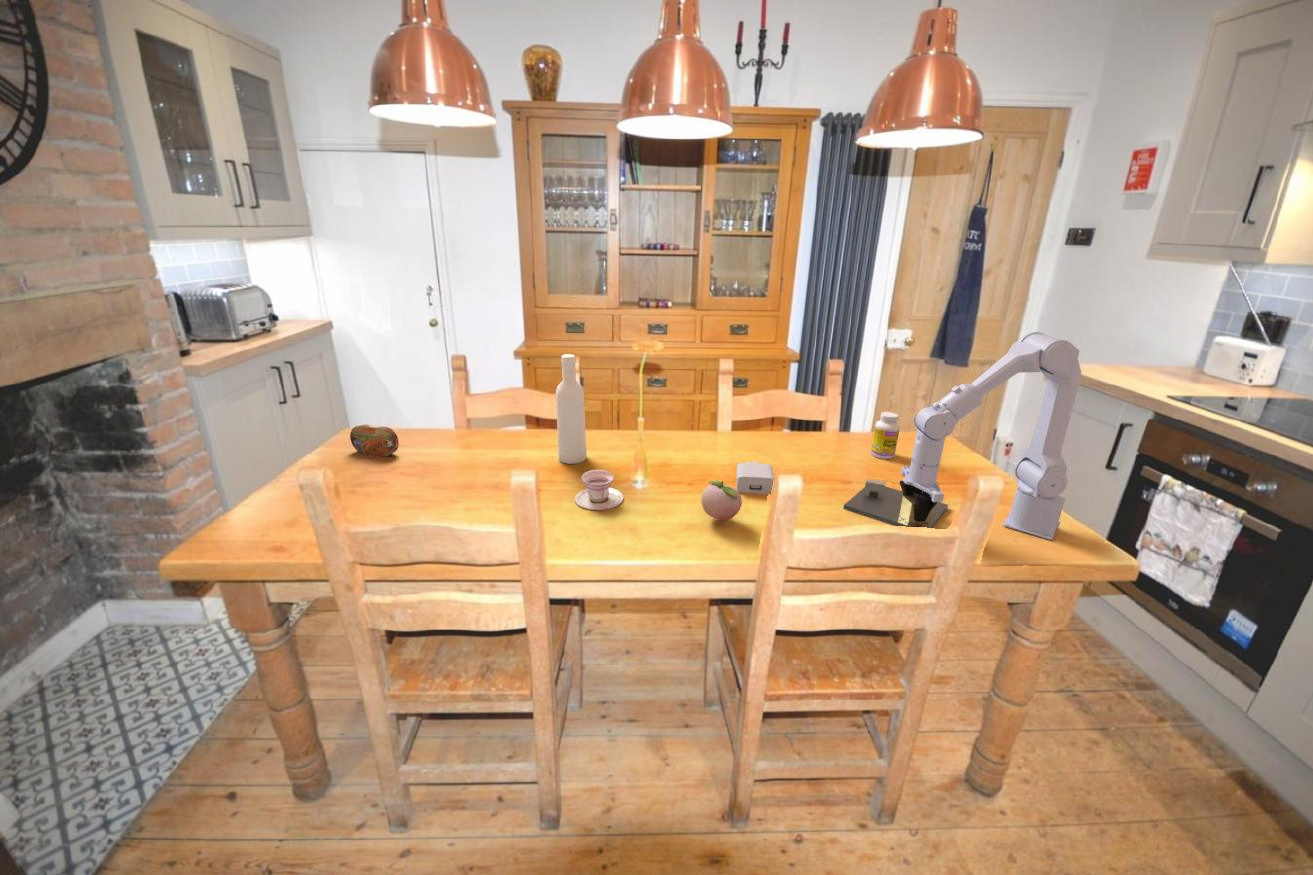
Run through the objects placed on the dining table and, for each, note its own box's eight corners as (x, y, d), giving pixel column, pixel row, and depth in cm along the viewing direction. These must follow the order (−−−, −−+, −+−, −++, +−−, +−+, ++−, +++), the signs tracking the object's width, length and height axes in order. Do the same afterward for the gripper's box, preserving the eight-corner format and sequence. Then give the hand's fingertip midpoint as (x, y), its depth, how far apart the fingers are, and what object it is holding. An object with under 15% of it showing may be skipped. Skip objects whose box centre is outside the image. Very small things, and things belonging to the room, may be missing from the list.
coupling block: (920, 514, 132) (924, 495, 130) (929, 522, 128) (933, 503, 127) (899, 514, 132) (903, 495, 130) (908, 523, 128) (911, 503, 126)
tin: (351, 452, 165) (346, 424, 162) (360, 448, 168) (355, 421, 165) (395, 458, 161) (390, 430, 158) (402, 454, 164) (398, 427, 161)
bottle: (581, 465, 158) (578, 359, 148) (554, 463, 160) (549, 358, 149) (589, 454, 166) (586, 353, 155) (563, 452, 167) (558, 351, 156)
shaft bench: (947, 508, 137) (951, 492, 136) (926, 535, 125) (929, 518, 124) (869, 485, 149) (872, 470, 147) (843, 508, 137) (845, 492, 135)
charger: (769, 471, 157) (773, 495, 143) (735, 469, 158) (736, 493, 144) (770, 455, 155) (775, 478, 141) (736, 453, 156) (737, 476, 142)
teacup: (570, 492, 143) (569, 470, 141) (615, 486, 147) (615, 464, 144) (580, 514, 132) (579, 490, 130) (629, 506, 136) (629, 483, 134)
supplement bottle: (879, 460, 164) (886, 418, 160) (865, 452, 170) (872, 411, 166) (899, 458, 166) (906, 417, 162) (885, 450, 172) (892, 410, 167)
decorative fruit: (691, 519, 130) (693, 480, 127) (714, 508, 136) (717, 470, 132) (723, 535, 124) (726, 494, 121) (746, 522, 130) (749, 482, 126)
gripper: (892, 449, 131) (883, 501, 136) (925, 475, 118) (914, 532, 123) (921, 448, 132) (911, 500, 137) (957, 474, 118) (945, 531, 123)
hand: (914, 516), depth 130 cm, fingers closed on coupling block, 4 cm apart
